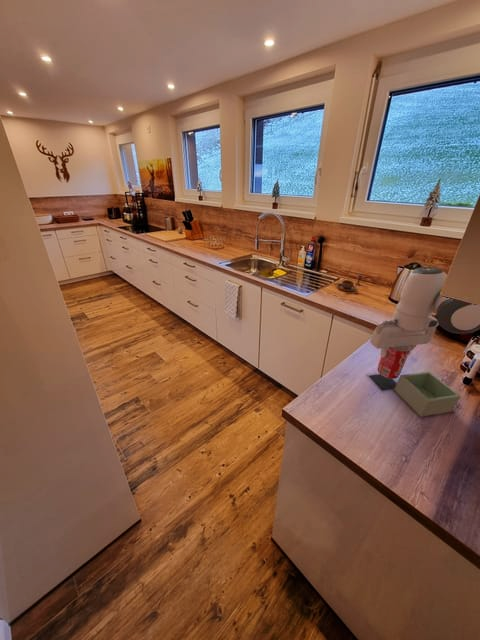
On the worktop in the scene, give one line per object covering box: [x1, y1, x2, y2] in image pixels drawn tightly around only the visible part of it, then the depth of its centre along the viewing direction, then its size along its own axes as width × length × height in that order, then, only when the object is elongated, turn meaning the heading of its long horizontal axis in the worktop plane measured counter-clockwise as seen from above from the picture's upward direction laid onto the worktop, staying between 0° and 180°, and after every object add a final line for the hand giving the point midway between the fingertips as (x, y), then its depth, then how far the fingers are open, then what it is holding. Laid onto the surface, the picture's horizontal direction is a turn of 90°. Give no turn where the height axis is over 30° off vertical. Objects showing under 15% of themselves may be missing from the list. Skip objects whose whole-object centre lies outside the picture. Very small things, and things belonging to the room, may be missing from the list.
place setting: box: [334, 275, 362, 295], centre depth 170 cm, size 18×20×6 cm
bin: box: [393, 370, 462, 417], centre depth 85 cm, size 12×12×7 cm
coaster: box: [368, 373, 397, 391], centre depth 93 cm, size 7×7×1 cm
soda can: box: [376, 346, 409, 380], centre depth 89 cm, size 7×7×12 cm
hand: (394, 355), depth 88 cm, fingers closed on soda can, 7 cm apart
